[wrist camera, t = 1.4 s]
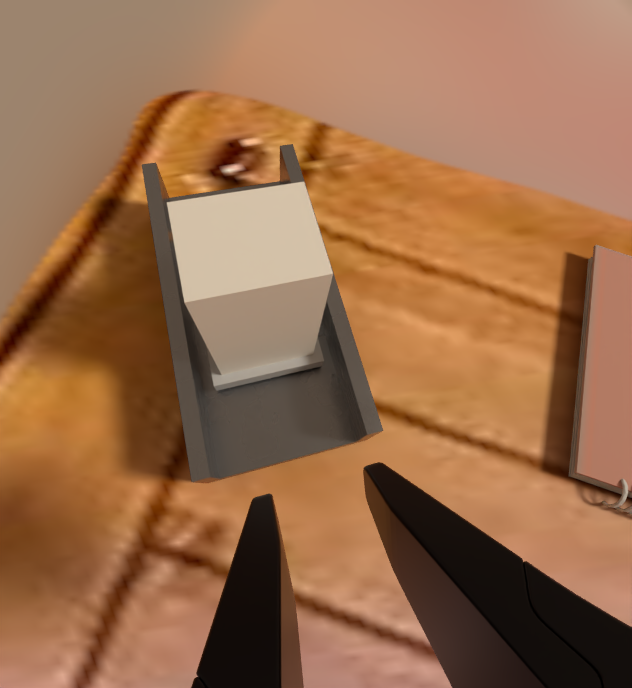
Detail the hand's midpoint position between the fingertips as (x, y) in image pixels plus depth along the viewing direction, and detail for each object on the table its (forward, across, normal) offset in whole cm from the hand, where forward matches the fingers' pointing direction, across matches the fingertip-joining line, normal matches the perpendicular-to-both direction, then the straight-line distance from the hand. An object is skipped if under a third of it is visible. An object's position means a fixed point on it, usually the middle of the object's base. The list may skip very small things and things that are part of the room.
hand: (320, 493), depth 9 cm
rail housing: (+17, 0, +2) cm, 17 cm away
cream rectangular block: (+15, 0, +3) cm, 15 cm away
